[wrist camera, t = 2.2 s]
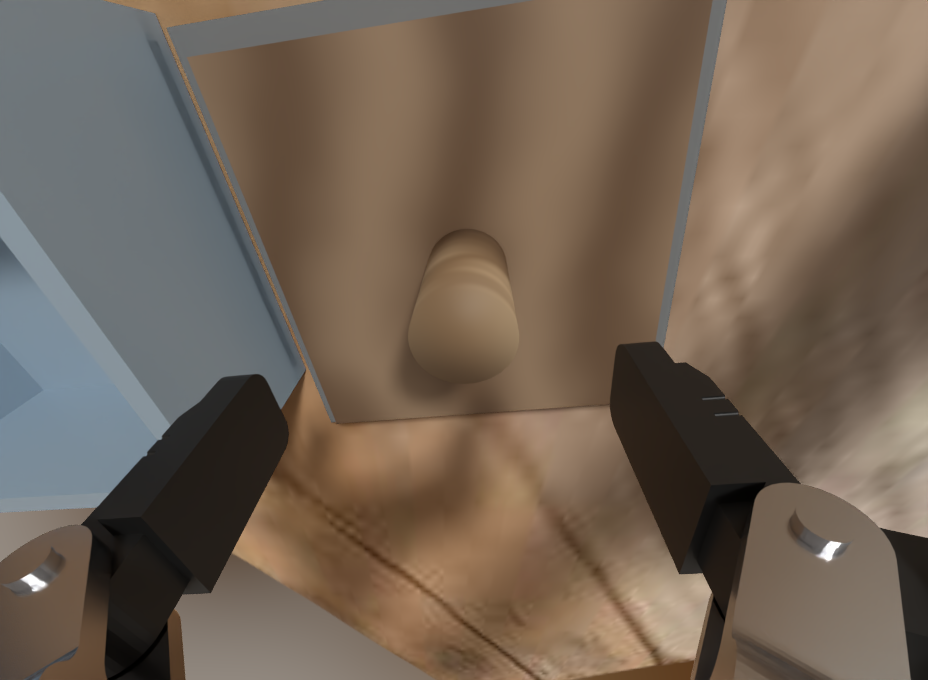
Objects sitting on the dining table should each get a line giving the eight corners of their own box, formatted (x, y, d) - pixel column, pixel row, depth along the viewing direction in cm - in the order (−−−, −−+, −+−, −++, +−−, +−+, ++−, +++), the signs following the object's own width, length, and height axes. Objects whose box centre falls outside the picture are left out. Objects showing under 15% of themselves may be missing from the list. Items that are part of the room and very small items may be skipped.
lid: (697, -20, 12) (897, -123, 6) (636, 386, 20) (698, 498, 15) (208, 59, 13) (10, 35, 8) (343, 408, 22) (296, 518, 16)
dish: (154, 13, 13) (-192, -73, 6) (305, 369, 21) (224, 500, 14) (-218, 79, 14) (-833, 66, 8) (57, 390, 22) (-125, 519, 16)
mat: (730, -66, 12) (740, -72, 11) (650, 392, 21) (654, 399, 21) (176, 29, 13) (166, 27, 13) (334, 416, 23) (331, 422, 22)
